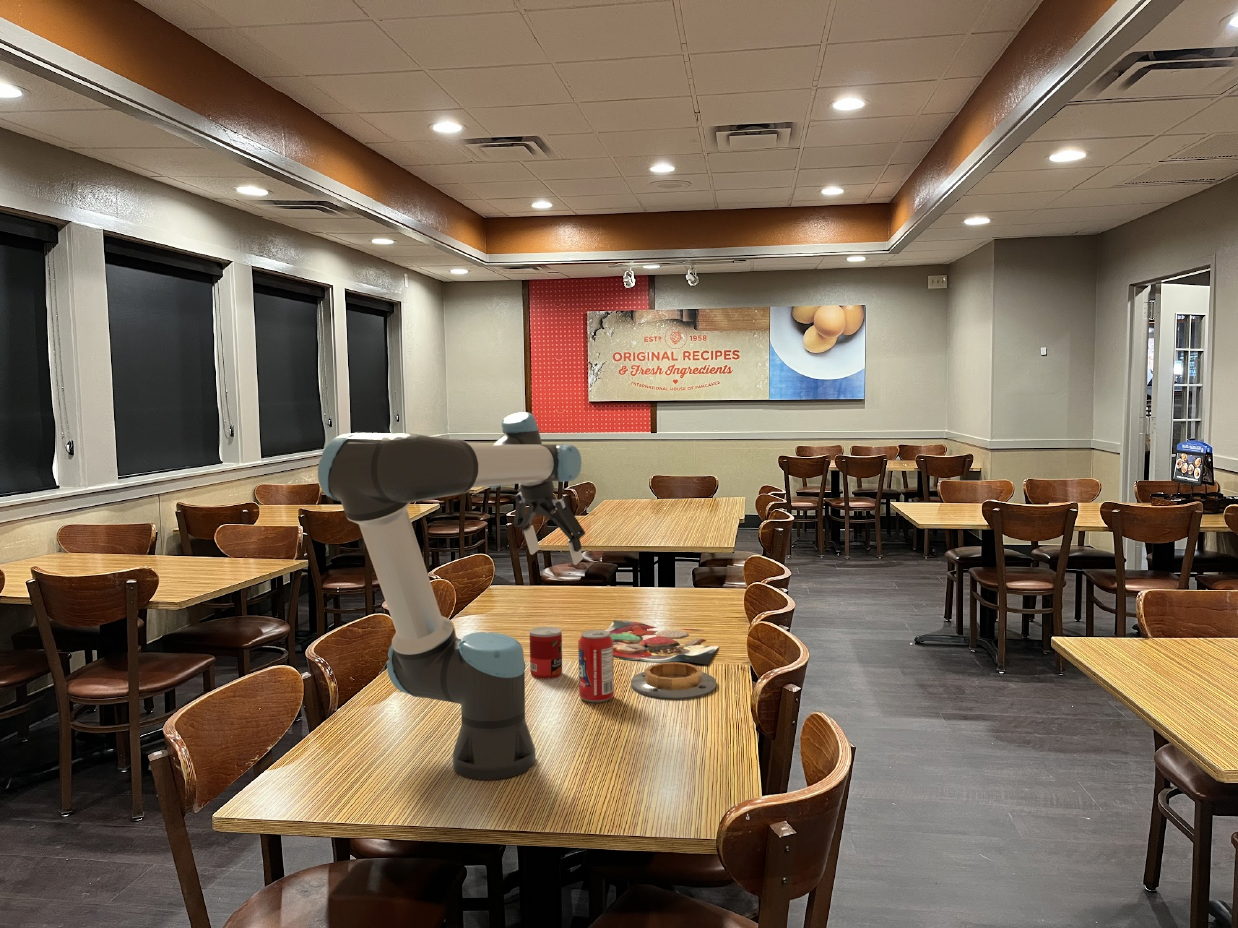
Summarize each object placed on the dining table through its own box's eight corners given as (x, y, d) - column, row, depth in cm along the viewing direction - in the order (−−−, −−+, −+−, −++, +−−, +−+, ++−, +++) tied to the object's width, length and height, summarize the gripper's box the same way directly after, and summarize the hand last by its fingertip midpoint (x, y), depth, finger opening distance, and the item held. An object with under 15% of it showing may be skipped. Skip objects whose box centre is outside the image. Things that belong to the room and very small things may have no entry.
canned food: (557, 679, 208) (557, 635, 207) (526, 678, 209) (525, 633, 208) (566, 670, 215) (565, 627, 214) (535, 668, 217) (534, 625, 216)
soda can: (609, 705, 189) (609, 638, 188) (575, 703, 191) (574, 636, 190) (617, 693, 197) (616, 629, 196) (583, 691, 199) (582, 627, 198)
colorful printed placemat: (577, 659, 227) (577, 651, 227) (614, 626, 260) (614, 620, 260) (707, 667, 217) (707, 660, 217) (728, 633, 251) (728, 626, 251)
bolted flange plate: (726, 696, 194) (726, 681, 194) (638, 701, 191) (638, 686, 191) (704, 670, 214) (704, 656, 214) (624, 674, 211) (624, 660, 211)
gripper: (586, 476, 189) (607, 557, 198) (505, 464, 204) (527, 539, 213) (566, 493, 184) (587, 575, 193) (484, 479, 199) (507, 555, 208)
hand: (556, 556), depth 203 cm, fingers open, 13 cm apart
